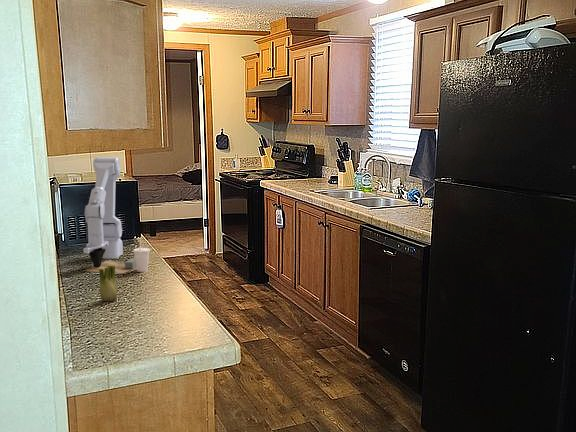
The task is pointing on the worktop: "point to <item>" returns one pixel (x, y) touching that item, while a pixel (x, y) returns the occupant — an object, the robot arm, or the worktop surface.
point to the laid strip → (122, 269)
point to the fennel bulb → (108, 283)
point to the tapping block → (130, 263)
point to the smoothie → (141, 258)
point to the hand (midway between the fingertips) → (97, 267)
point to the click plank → (104, 265)
